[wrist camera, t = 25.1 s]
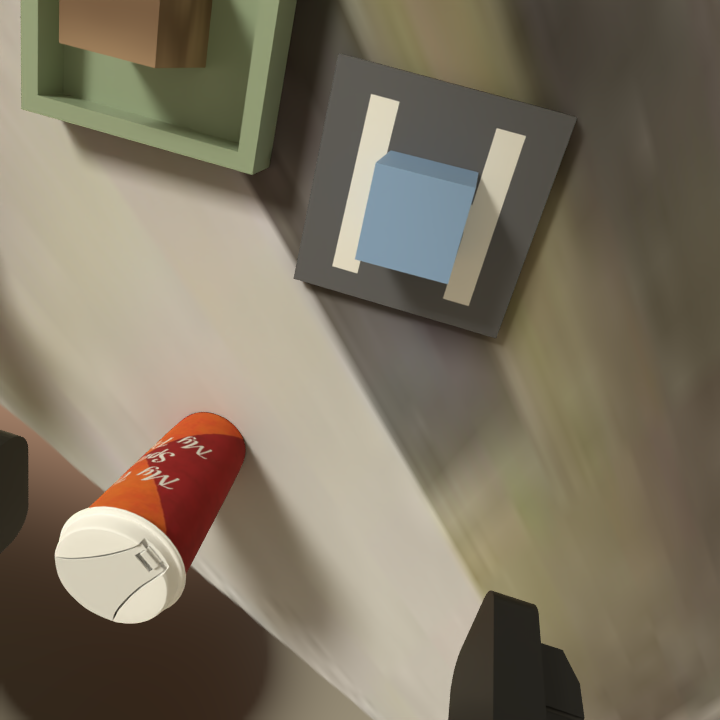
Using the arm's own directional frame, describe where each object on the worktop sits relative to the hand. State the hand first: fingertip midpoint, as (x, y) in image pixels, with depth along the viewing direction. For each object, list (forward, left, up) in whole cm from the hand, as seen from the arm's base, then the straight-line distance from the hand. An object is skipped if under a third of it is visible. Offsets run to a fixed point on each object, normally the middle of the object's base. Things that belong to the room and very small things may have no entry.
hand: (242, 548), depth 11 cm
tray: (-6, -16, -30) cm, 35 cm away
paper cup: (+22, -10, -30) cm, 39 cm away
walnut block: (-6, -16, -30) cm, 34 cm away
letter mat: (0, 0, -30) cm, 30 cm away
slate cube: (0, 0, -29) cm, 29 cm away
